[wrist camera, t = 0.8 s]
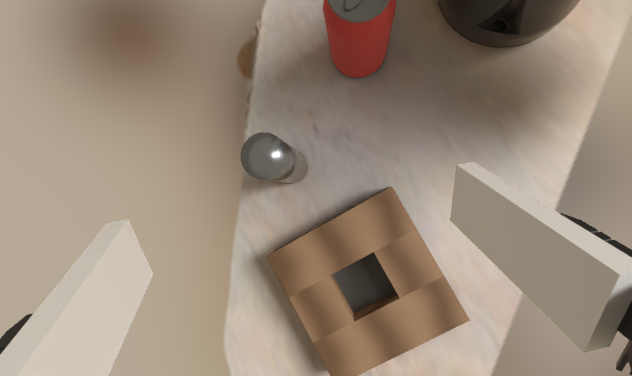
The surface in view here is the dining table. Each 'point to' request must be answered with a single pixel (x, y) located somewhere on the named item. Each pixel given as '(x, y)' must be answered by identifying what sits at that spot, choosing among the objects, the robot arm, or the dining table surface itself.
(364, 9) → the beer can
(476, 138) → the dining table surface
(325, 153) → the dining table surface
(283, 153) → the steel pin
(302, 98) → the dining table surface
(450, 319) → the socket block
